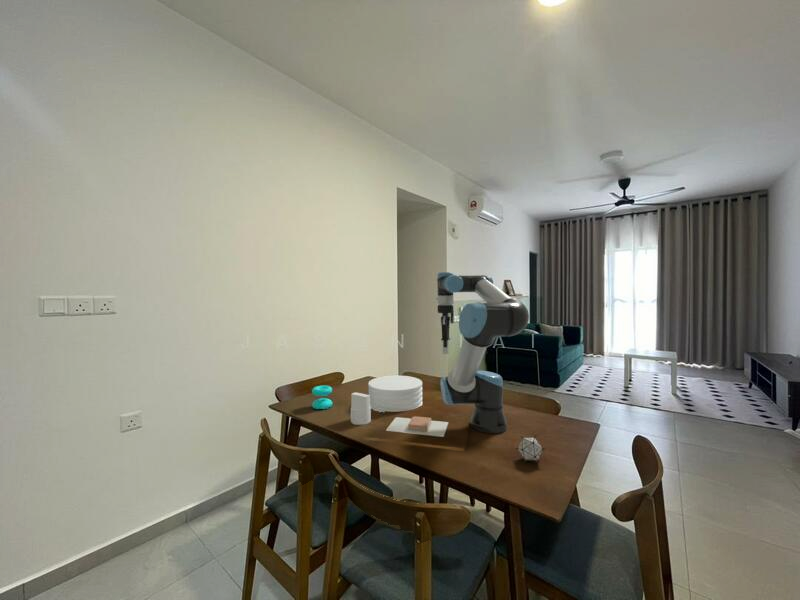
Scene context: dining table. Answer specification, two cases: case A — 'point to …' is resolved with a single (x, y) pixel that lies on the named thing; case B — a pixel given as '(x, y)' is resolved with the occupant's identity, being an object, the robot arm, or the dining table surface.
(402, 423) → the cutting board
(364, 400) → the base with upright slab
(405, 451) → the dining table surface
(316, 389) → the donuts
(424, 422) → the teal rectangular slab
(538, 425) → the dining table surface
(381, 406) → the plate stack
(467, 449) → the dining table surface
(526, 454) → the game die
